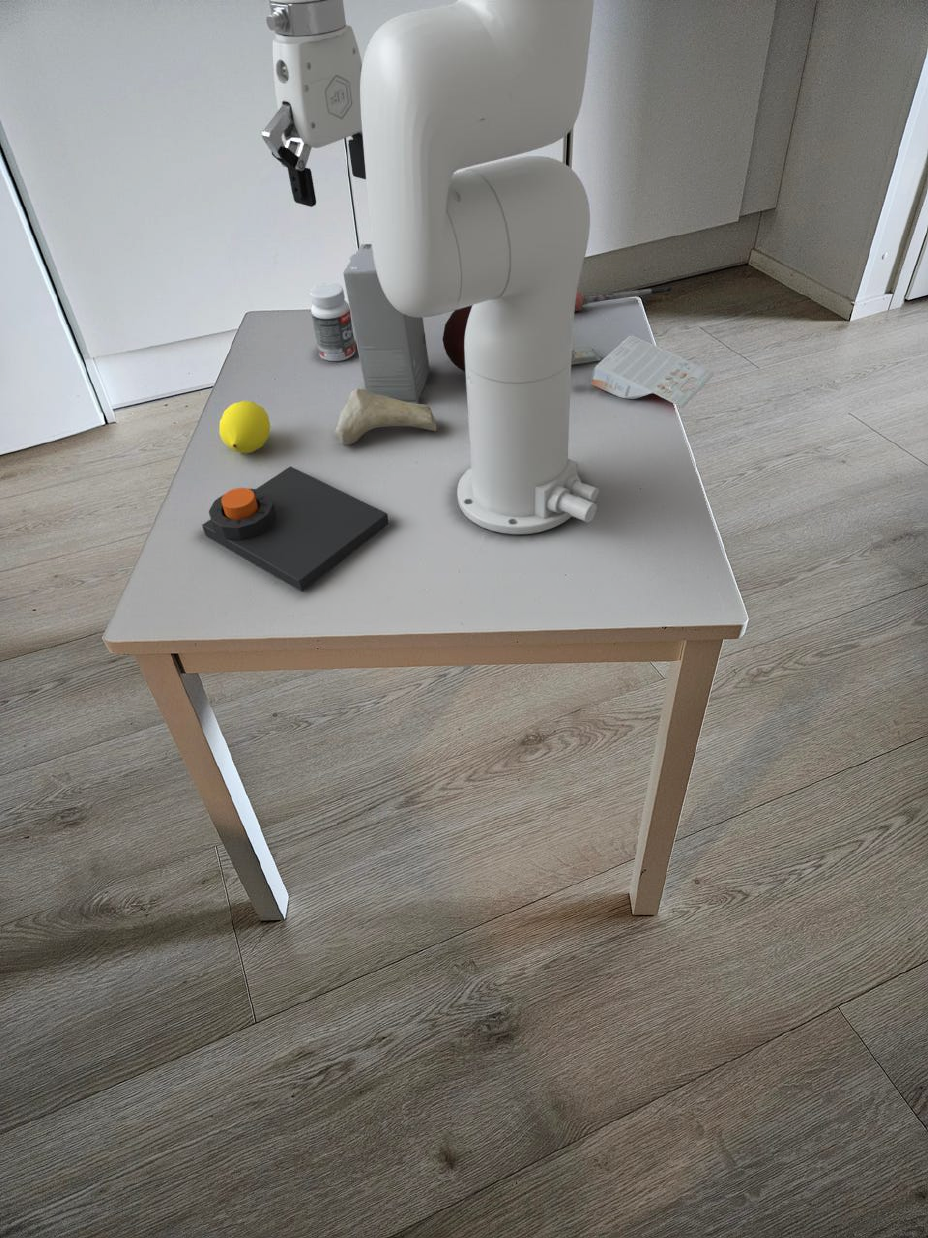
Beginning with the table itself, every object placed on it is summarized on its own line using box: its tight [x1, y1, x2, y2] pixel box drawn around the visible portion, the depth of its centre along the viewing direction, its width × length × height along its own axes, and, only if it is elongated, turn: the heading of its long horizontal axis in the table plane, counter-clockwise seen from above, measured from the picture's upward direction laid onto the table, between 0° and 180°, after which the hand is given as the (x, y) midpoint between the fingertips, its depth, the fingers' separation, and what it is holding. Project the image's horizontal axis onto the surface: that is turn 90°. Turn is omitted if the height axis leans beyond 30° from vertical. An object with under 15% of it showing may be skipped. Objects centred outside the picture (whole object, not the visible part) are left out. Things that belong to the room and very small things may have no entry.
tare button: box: [221, 487, 258, 520], centre depth 85 cm, size 3×3×2 cm
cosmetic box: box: [342, 243, 430, 404], centre depth 100 cm, size 8×7×16 cm
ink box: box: [590, 334, 715, 409], centre depth 102 cm, size 3×9×12 cm
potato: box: [442, 305, 473, 373], centre depth 102 cm, size 9×12×9 cm
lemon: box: [218, 400, 271, 454], centre depth 95 cm, size 7×5×5 cm
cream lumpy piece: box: [334, 388, 438, 446], centre depth 97 cm, size 11×6×5 cm, turn 101°
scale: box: [201, 466, 390, 592], centre depth 86 cm, size 14×12×3 cm
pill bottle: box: [309, 282, 357, 362], centre depth 109 cm, size 5×5×8 cm
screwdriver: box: [574, 286, 673, 312], centre depth 116 cm, size 25×3×3 cm
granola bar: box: [571, 348, 602, 366], centre depth 106 cm, size 7×1×3 cm
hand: (335, 190), depth 103 cm, fingers open, 9 cm apart
